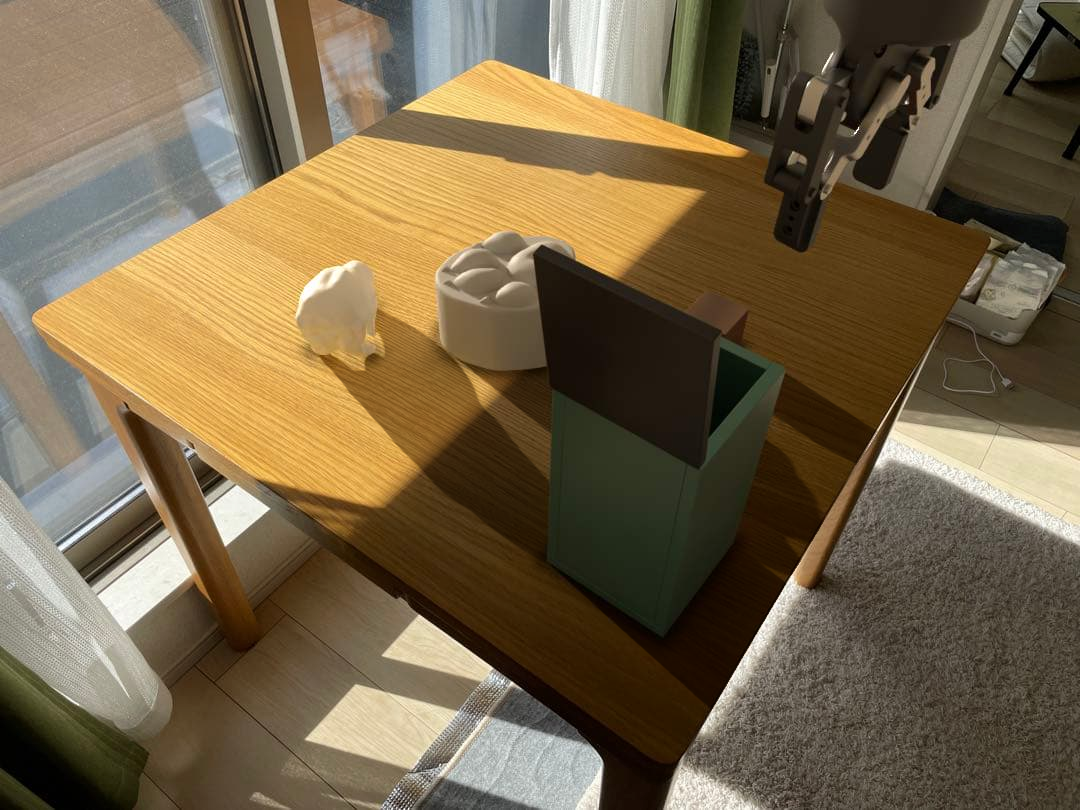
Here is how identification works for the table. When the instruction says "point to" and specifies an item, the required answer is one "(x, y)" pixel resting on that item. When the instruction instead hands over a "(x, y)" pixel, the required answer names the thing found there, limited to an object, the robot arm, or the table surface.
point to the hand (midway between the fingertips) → (832, 211)
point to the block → (721, 315)
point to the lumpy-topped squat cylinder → (494, 302)
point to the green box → (656, 495)
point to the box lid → (628, 355)
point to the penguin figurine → (339, 310)
